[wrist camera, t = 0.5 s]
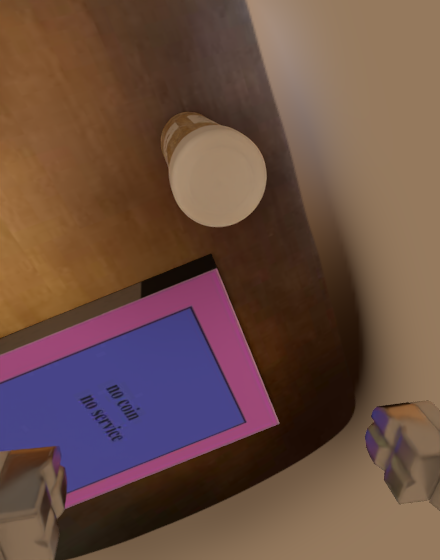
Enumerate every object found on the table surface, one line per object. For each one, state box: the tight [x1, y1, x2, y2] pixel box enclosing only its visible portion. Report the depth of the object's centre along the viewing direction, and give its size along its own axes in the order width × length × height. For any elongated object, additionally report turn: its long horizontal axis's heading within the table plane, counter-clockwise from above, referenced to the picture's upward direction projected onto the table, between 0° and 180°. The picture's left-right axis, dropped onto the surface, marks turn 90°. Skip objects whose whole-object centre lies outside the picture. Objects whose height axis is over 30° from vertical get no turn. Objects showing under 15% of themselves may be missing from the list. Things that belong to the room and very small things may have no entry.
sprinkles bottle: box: [161, 112, 267, 227], centre depth 23 cm, size 5×5×14 cm
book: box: [0, 254, 280, 509], centre depth 37 cm, size 21×3×30 cm
